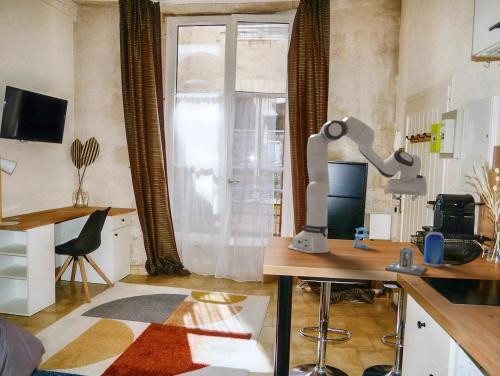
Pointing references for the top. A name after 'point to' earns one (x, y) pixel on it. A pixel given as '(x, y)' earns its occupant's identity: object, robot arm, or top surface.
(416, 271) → the card
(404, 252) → the slotted cup
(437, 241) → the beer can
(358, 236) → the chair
